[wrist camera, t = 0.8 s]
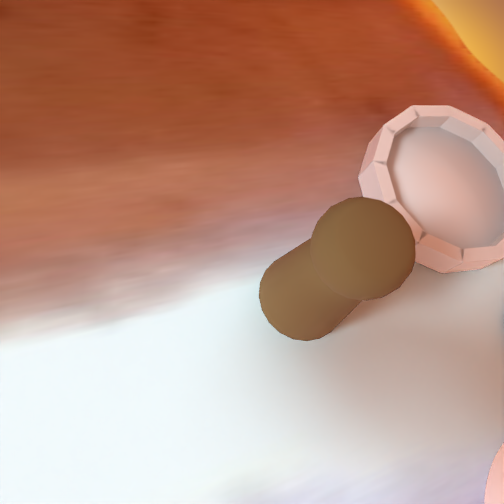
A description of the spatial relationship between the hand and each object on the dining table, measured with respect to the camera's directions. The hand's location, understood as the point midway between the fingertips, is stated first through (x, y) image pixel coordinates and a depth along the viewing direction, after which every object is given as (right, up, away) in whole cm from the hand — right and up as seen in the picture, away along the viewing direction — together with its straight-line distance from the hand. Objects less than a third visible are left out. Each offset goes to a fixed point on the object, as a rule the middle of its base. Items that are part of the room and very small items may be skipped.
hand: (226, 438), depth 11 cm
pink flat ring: (+15, +9, +27) cm, 32 cm away
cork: (+4, +1, +22) cm, 22 cm away
